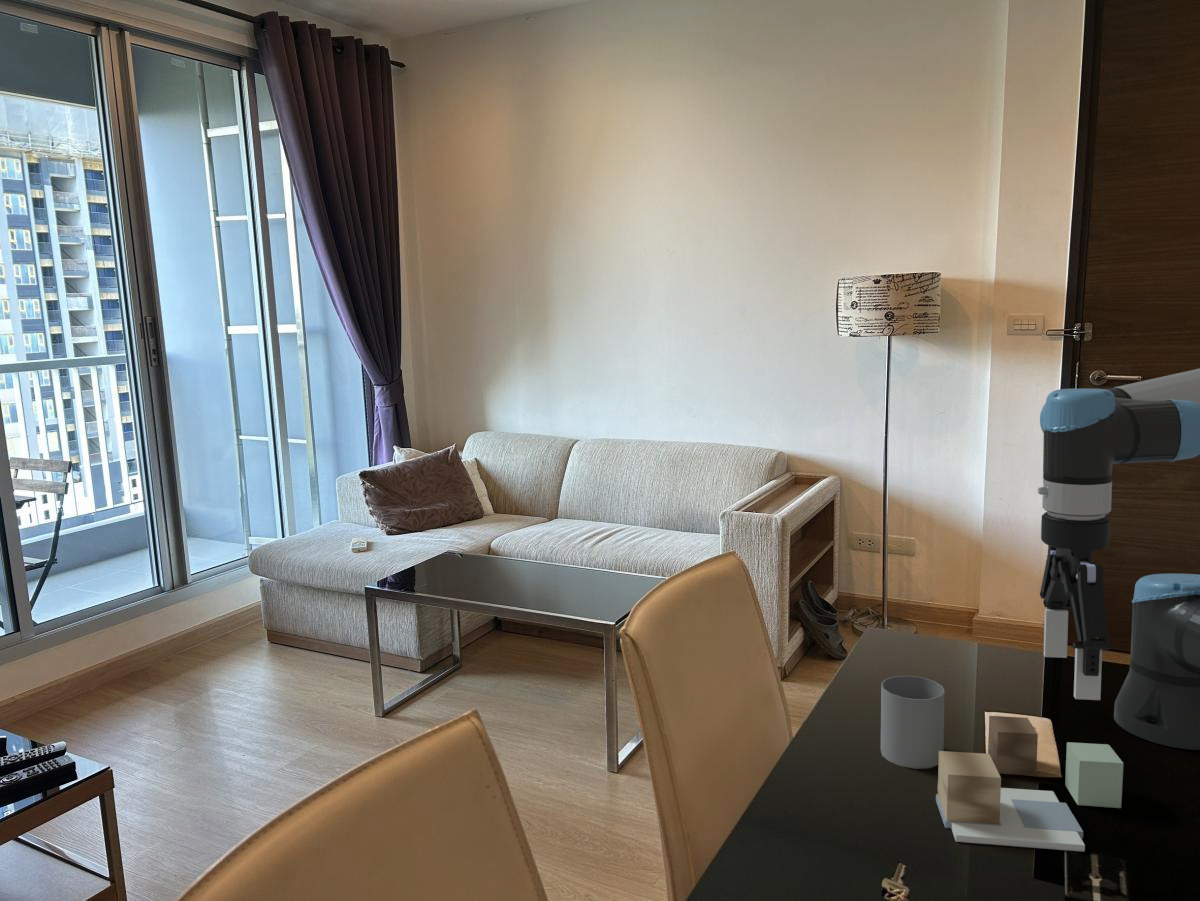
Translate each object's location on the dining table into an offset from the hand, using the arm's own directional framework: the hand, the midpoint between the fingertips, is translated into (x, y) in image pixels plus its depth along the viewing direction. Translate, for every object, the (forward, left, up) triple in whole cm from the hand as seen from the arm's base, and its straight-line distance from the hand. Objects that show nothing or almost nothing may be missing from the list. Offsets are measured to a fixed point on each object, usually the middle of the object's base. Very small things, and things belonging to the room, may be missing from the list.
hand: (1070, 676), depth 112 cm
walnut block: (+5, -6, -16) cm, 17 cm away
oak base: (+14, +8, -15) cm, 22 cm away
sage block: (-3, +1, -16) cm, 16 cm away
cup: (+18, -8, -16) cm, 25 cm away
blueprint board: (+9, +8, -16) cm, 20 cm away
